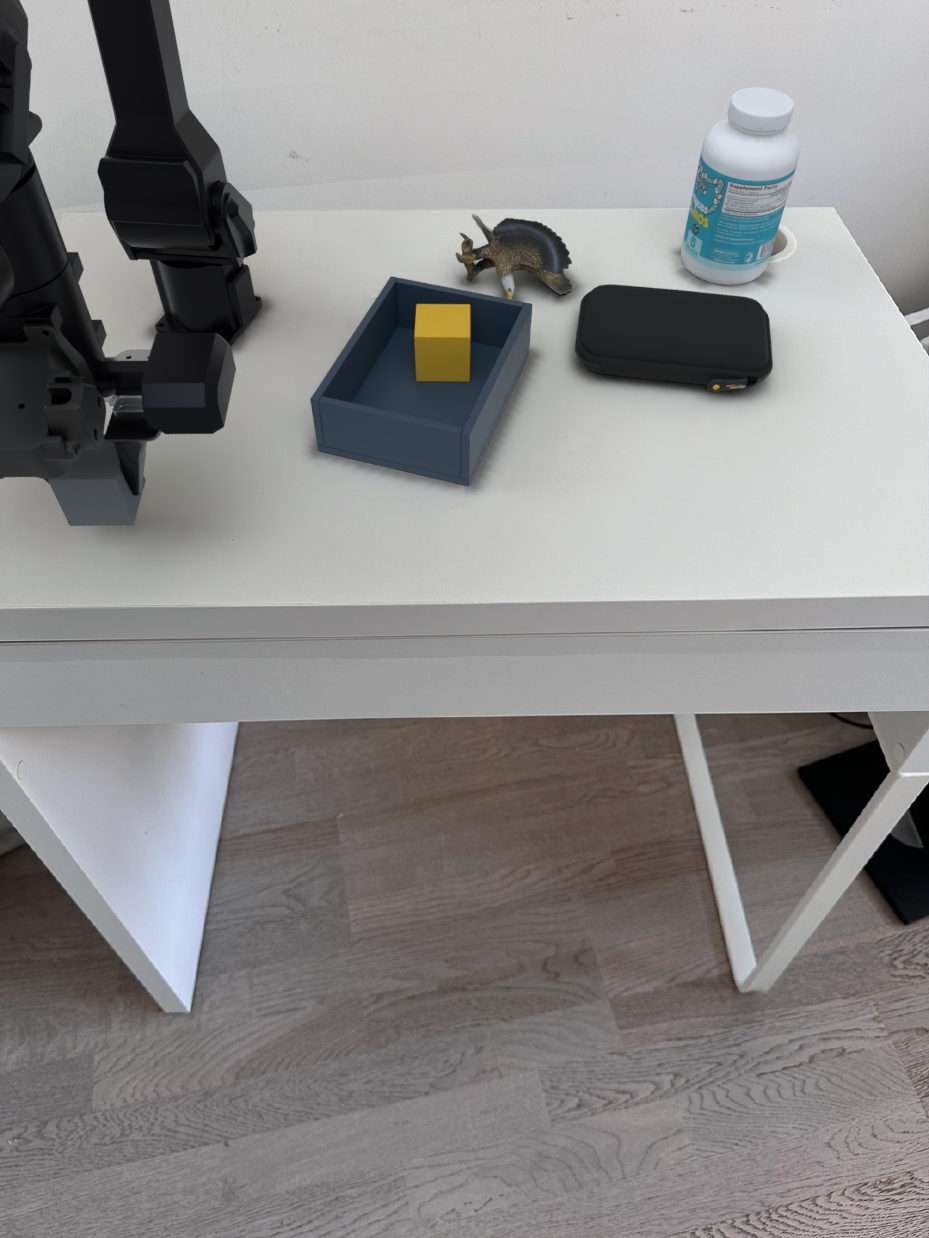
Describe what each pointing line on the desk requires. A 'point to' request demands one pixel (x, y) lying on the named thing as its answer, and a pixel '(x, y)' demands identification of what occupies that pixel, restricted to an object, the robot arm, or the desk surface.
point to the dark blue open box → (420, 385)
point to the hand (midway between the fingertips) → (103, 491)
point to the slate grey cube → (96, 490)
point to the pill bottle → (741, 188)
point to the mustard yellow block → (442, 342)
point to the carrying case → (674, 336)
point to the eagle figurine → (518, 253)
